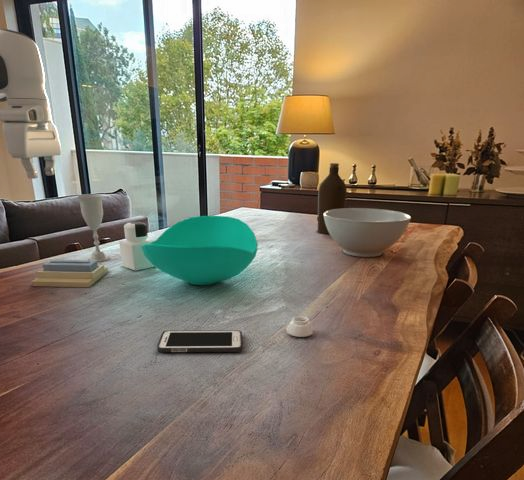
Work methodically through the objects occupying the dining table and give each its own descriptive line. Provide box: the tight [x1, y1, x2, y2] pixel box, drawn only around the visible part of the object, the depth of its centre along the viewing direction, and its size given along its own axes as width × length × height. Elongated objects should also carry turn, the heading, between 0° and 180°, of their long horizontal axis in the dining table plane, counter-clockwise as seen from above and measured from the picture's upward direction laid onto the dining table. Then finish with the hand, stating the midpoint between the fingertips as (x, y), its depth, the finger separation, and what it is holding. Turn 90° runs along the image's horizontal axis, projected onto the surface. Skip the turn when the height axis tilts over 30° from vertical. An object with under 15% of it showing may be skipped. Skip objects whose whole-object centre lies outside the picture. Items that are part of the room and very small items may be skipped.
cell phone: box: [156, 329, 243, 353], centre depth 82 cm, size 8×15×1 cm, turn 93°
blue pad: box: [42, 259, 99, 272], centre depth 117 cm, size 12×5×3 cm, turn 89°
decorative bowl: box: [324, 207, 412, 258], centre depth 146 cm, size 27×27×12 cm
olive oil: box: [316, 162, 348, 235], centre depth 174 cm, size 11×11×25 cm
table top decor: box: [142, 215, 259, 286], centre depth 114 cm, size 40×28×13 cm
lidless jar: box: [286, 315, 314, 338], centre depth 87 cm, size 5×3×5 cm
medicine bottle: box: [119, 221, 156, 271], centre depth 127 cm, size 7×7×12 cm
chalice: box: [76, 194, 109, 262], centre depth 132 cm, size 7×7×18 cm
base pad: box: [31, 264, 109, 288], centre depth 117 cm, size 14×14×3 cm
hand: (41, 176), depth 113 cm, fingers open, 8 cm apart
